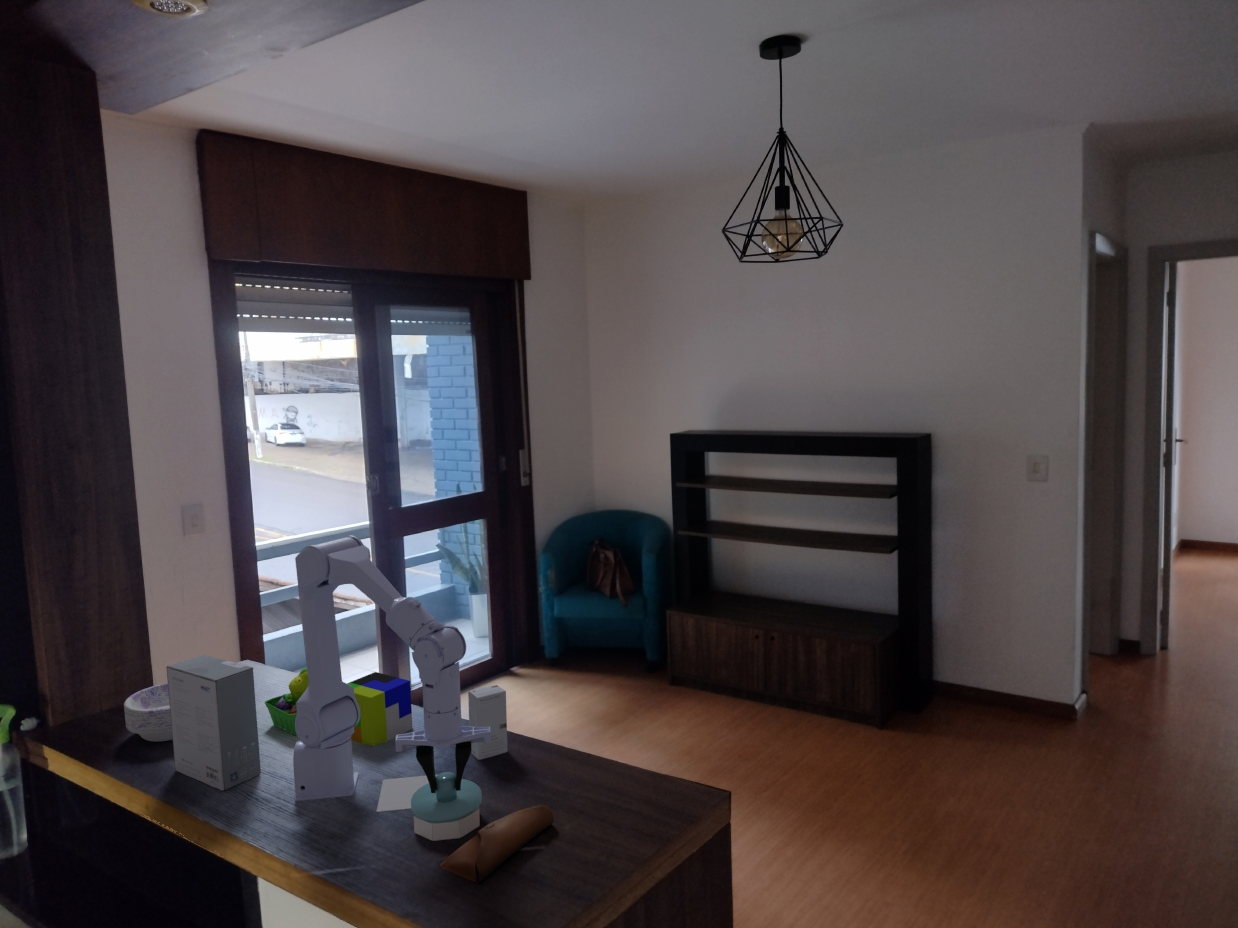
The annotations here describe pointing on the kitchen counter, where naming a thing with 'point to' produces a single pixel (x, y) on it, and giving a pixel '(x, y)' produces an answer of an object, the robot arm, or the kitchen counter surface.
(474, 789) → the lid
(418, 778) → the plate
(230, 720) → the hard drive box
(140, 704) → the paper bowls
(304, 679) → the fruit basket
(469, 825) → the bowl
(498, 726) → the skincare box
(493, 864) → the sunglasses case
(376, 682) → the puzzle toy
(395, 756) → the kitchen counter surface
